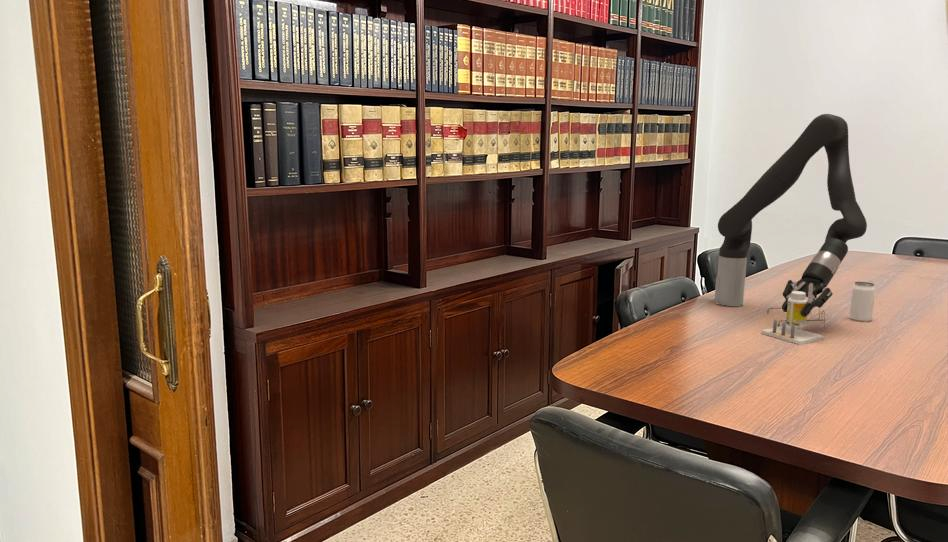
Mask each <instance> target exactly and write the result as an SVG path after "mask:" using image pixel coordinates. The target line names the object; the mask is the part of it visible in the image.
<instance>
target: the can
mask: <svg viewBox="0 0 948 542" xmlns="http://www.w3.org/2000/svg"><path fill="white" fill-rule="evenodd" d="M875 293H876V287H875V284H874V283H873V282H868V281H854V284H853V285H852V289H851V299H850V305H849V306H850V307H849V319H850V320H852V319H853V320H852V321H855V320H856V322H863V321H865V323H866V321H868V322H870V321H872V320H873V311H874V305H875V304H874V303H875V295H876V294H875Z"/></svg>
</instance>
